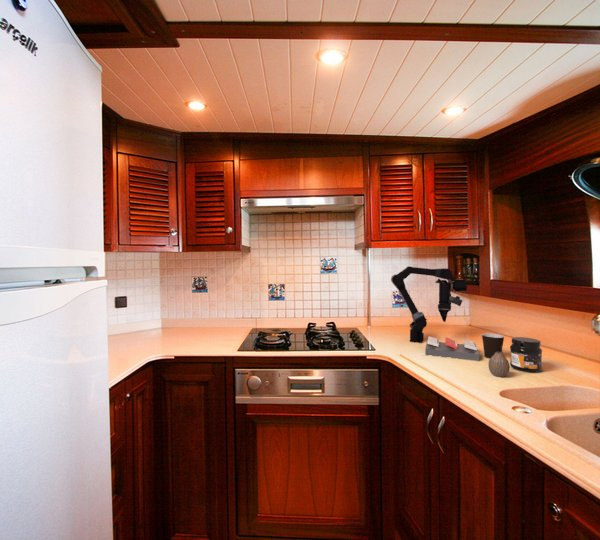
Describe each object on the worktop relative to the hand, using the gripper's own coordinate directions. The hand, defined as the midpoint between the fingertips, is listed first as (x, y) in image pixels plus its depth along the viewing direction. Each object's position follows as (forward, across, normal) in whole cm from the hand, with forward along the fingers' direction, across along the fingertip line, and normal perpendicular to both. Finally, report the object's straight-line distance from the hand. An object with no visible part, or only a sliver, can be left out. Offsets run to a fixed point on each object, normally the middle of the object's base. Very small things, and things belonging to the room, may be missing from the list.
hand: (444, 320), depth 170 cm
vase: (+12, -46, -20) cm, 52 cm away
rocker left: (+8, -20, +5) cm, 22 cm away
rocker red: (+8, -20, -3) cm, 21 cm away
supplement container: (+12, -33, -30) cm, 47 cm away
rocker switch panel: (+12, -22, -3) cm, 25 cm away
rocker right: (+8, -19, -11) cm, 24 cm away
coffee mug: (+12, -19, -21) cm, 31 cm away
